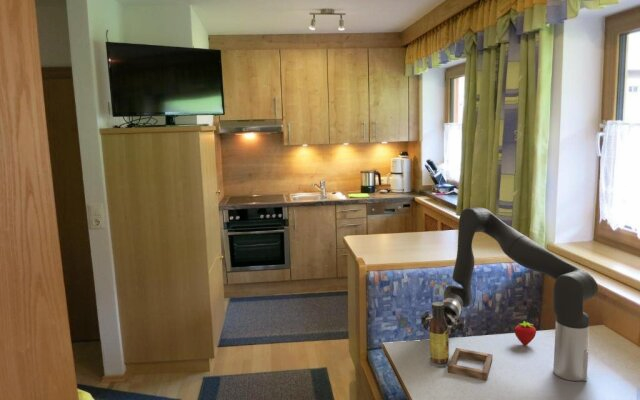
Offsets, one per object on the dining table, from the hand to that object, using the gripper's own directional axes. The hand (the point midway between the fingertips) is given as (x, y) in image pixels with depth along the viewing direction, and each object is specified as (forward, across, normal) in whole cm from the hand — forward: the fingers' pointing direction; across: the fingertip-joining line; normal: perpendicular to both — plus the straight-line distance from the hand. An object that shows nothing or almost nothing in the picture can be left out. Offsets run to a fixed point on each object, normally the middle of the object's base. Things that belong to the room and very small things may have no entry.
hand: (438, 329), depth 154 cm
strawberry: (-26, +25, +13) cm, 38 cm away
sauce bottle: (-2, 0, +12) cm, 12 cm away
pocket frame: (-3, +10, +13) cm, 16 cm away
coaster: (-2, 0, +13) cm, 13 cm away
